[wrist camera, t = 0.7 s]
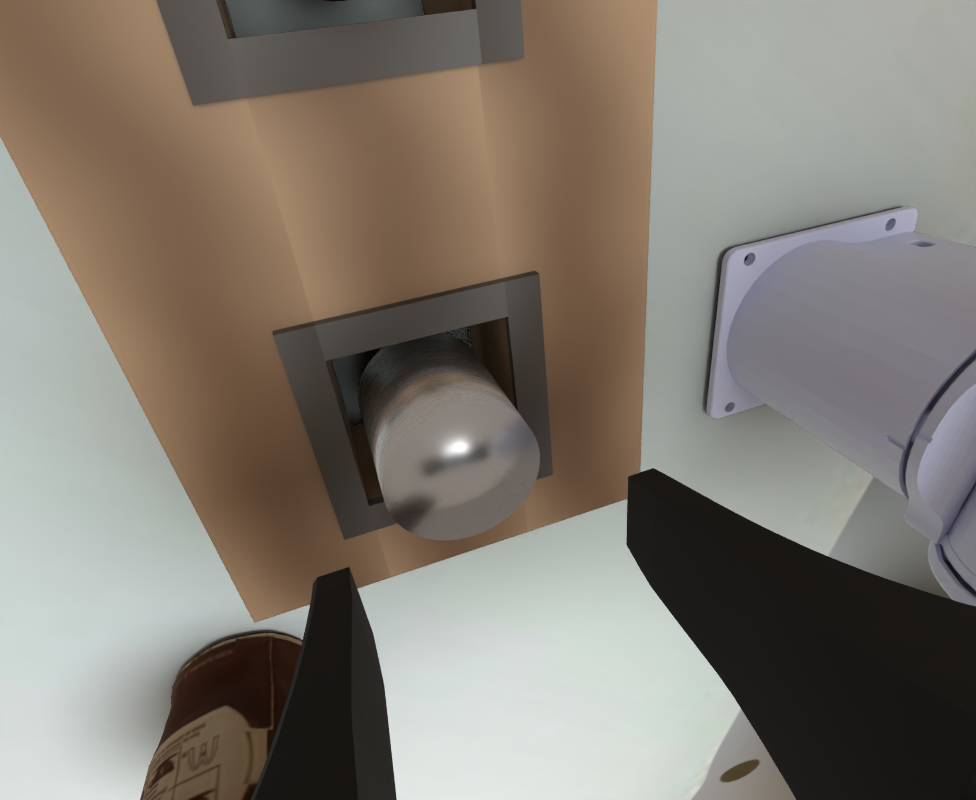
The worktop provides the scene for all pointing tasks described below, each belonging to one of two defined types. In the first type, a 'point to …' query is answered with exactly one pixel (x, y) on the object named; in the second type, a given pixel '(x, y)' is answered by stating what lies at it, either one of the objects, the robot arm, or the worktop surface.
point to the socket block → (347, 243)
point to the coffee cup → (223, 720)
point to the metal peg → (444, 439)
